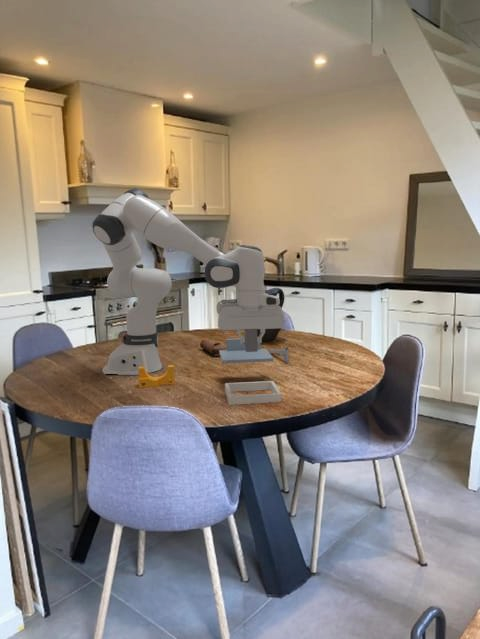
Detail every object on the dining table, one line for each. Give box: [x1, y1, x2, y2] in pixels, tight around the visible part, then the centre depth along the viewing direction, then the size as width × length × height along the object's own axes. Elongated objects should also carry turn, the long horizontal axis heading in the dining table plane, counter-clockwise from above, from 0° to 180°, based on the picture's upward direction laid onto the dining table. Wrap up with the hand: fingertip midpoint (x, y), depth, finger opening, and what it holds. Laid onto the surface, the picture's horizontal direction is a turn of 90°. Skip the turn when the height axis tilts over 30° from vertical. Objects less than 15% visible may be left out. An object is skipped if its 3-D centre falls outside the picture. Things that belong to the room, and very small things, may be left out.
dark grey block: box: [244, 329, 257, 352], centre depth 159 cm, size 4×4×7 cm
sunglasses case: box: [199, 339, 226, 357], centre depth 225 cm, size 18×7×7 cm
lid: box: [219, 338, 274, 364], centre depth 177 cm, size 17×15×5 cm
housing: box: [224, 380, 282, 406], centre depth 162 cm, size 16×14×3 cm
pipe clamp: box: [138, 364, 176, 389], centre depth 177 cm, size 12×4×6 cm, turn 97°
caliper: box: [268, 346, 290, 364], centre depth 211 cm, size 20×1×6 cm, turn 17°
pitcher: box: [257, 287, 285, 343], centre depth 245 cm, size 21×22×25 cm
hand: (251, 343), depth 159 cm, fingers closed on dark grey block, 3 cm apart
